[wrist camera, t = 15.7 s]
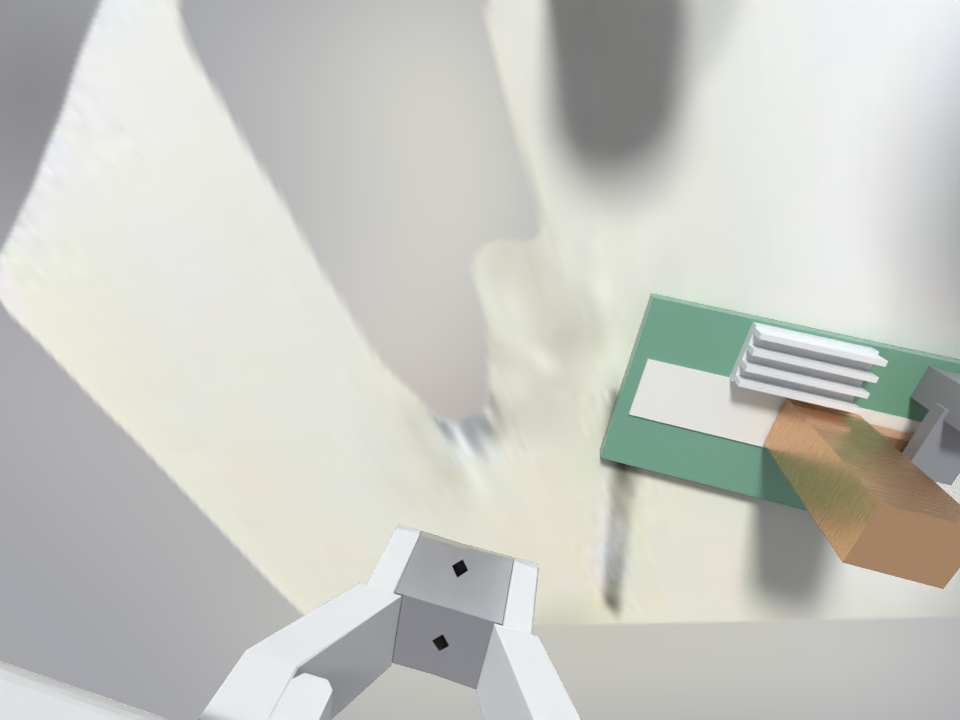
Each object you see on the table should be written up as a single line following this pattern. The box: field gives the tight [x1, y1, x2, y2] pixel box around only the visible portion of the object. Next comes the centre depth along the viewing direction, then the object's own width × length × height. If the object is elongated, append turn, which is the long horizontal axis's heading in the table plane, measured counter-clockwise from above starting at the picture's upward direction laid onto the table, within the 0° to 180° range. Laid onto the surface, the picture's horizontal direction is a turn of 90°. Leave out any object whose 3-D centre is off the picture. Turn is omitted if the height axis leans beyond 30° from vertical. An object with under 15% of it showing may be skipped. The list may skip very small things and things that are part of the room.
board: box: [600, 293, 960, 510], centre depth 34 cm, size 22×14×6 cm, turn 79°
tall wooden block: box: [764, 398, 960, 589], centre depth 30 cm, size 10×4×12 cm, turn 79°
